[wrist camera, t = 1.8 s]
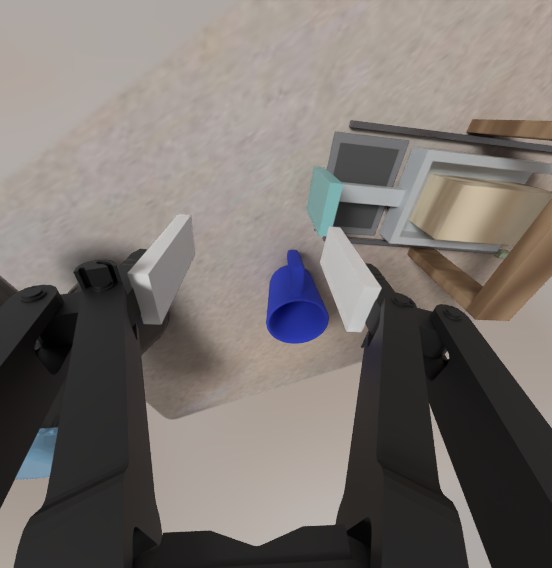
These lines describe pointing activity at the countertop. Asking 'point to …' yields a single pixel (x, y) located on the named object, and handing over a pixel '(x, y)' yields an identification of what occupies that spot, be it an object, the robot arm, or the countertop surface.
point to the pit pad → (363, 175)
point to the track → (445, 136)
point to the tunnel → (519, 262)
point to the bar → (477, 209)
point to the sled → (414, 192)
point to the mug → (295, 304)
